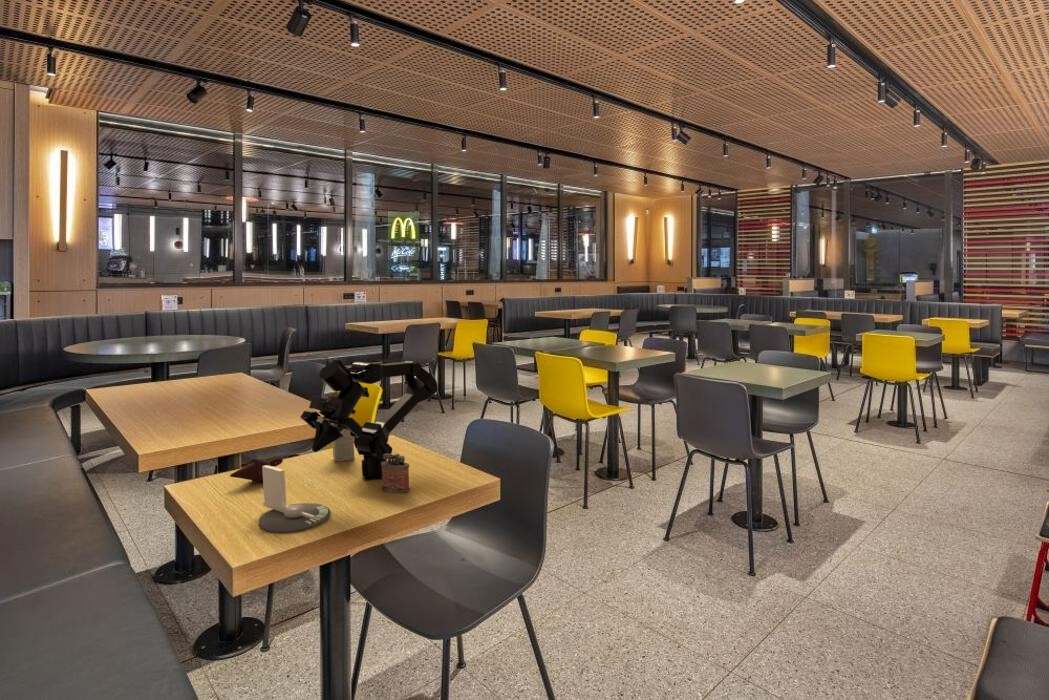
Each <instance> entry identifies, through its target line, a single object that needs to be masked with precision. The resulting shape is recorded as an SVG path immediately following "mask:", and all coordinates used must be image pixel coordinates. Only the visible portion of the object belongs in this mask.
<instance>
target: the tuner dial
mask: <svg viewBox="0 0 1049 700" xmlns="http://www.w3.org/2000/svg"><path fill="white" fill-rule="evenodd" d="M298 504H299V505H305V506H306V513H308V514H311V515H314V516H315V519H311V518H308V517H305V516H301V517H298V518H286V517H284V513H283V512H280V511H277V510H274V509H271V510H269V511H267V512H265V513H263V514H262V515H261V516H260V517H259V519H258V527H259V528H260V529H261V530H262V531H265V532H269V533H275V534H276V533H277V534H287V533H288V534H289V533H298V532H303V531H307V530H310V528H311V529H314V528H317V527H319V526H321V525H322V524H324V523H326V522H328V520H329V519H330V518H331V509H330V508H329V507H328V506H326V505H324V504H319V503H315V502H314V503H312V502H307V503H306V502H305V503H304V502H303V503H301V502H300V503H292V504H288V506H291V505H298ZM316 526H317V527H316ZM306 529H307V530H306Z"/></svg>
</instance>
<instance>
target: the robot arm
mask: <svg viewBox="0 0 1049 700" xmlns="http://www.w3.org/2000/svg"><path fill="white" fill-rule="evenodd" d="M318 376H319V378H320V379H321V380H322V381H323V382H324V383H325V384H326V385H327V386H328V387H329V388H330V389H331V390H332V391H333V392H338V393H337V394H336V396H333V395H332V396H331V395H329V396H328V397H327V398H326V397H321V396H315V395H312V397H311V399H310V403H309V407H308V409H307V410H304V411H303V412H302V414H301V415H300V417H299V418H300V419H301V420H303V422H305V423H306V424H307V425H308V426H310V427H311V428H312V429H314V430H315V434H314V439H313V444H312V446H311V451H312V452H313V453H317V452H319V451H321V450H322V449H323V448H325V447H327V446H328V445H330V444H331V443H332V442H333V441H335V440H337V439H338V438H340V437H343V435H342V433H343V432H344V430H350V431H351V432H350V433H351V436H352V437H353V440H354V448H355V449H356V451H357V453H358V455H359V456H363V459H362V460H361V474H362V477H364V480H365V481H368V480H377V479H382V466H381V462H384V461H388V459H383V455H384V454H393V453H392V452H393V447H392V446H391V445H390V444H389V443H388V441H389V437H390V433H391V432H392V431H393V430H394V429H395V428H396V427H397V426H398V424H399V423H401V422H402V420H403V419H404V418H405V417H407V415H408V414H410V412H411V411H412V410H413V409H414V408H415V407H416V406H417V405H418V404H419V403H421V402H424V401H426V400H428V399H430V398H431V397H433V396H434V395H435V394H436V393H437V392H438V389H439V388H438V387H439V386H438V385H439V384H438V382H437V379H436V378H435V377H433V375H432V374H431V373H429V372H428V371H427V370H426V369H424V367H422V366H421V364H420V363H419V362H417V361H412V360H405V361H399V362H390V363H388V362H387V363H379V364H378V363H372V362H362V361H356V362H353V363H352V364H351V366H349V367H347V366H346V365H344V363H343V362H342V361H341V360H340V359H333V361H332V362H330V363H327V364H326V365H325V366H324V367H322V368H321V369H320V371H319V375H318ZM400 376H404V381H405V383H407V385H406V388H405V389H406V390H405V393H404V394H403V395H402V396H400V398H399V399H398V400H397V401H396V402H395V403H394V404H393V405H392V406H391V407H390V408H389V409H388V410H387V411H386V412H384V414H383V415H382V416H381V417H380V418H378V420H377V421H376V422H371V421H366V422H365V423H363V425H361V424H360V423H359V422H358V421H356V420H355V419H354V418H353V417H350V416H351V415H355V413H356V410H355V407H356V406H357V404H358V402H359V401H360V399H361V398H362V397H363V398H369V397H370V392H369V389H368V388H369V387H367V386H363V385H362V384H368V385H372V384H375V383H379V382H381V381H382V380H383V379H386V378H394V377H400ZM309 409H310V410H309ZM312 409H314V410H312ZM317 410H318V411H319V412H317Z"/></svg>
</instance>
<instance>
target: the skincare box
mask: <svg viewBox="0 0 1049 700" xmlns="http://www.w3.org/2000/svg"><path fill="white" fill-rule="evenodd" d="M350 432H351V431H350V430H344V432H343V433H342V435H343V437H340V438H338V439H337V440H335V441H333V442H331V443H332V444H331V445H332V455H333V456H332V458H334V459H333V461H334V462H335V461H339V462H346V461H351V460H355V459H356V458H355V445H354V437H352V436H351V433H350ZM345 460H346V461H345Z"/></svg>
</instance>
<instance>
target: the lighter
mask: <svg viewBox="0 0 1049 700" xmlns="http://www.w3.org/2000/svg"><path fill="white" fill-rule="evenodd" d="M405 458H406V457H405V455H400V454H399V453H395V454H393V453H391V454H384V455H383V459H387V461H384V462H381V466H382V478H381V479H382V481H381V482H382V486H381V490H383V492H387V493H391V494H392V493H393V494H409V493H410V492H411V488H410V470H409V468H410V463H408V462H405ZM408 492H409V493H408Z"/></svg>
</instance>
